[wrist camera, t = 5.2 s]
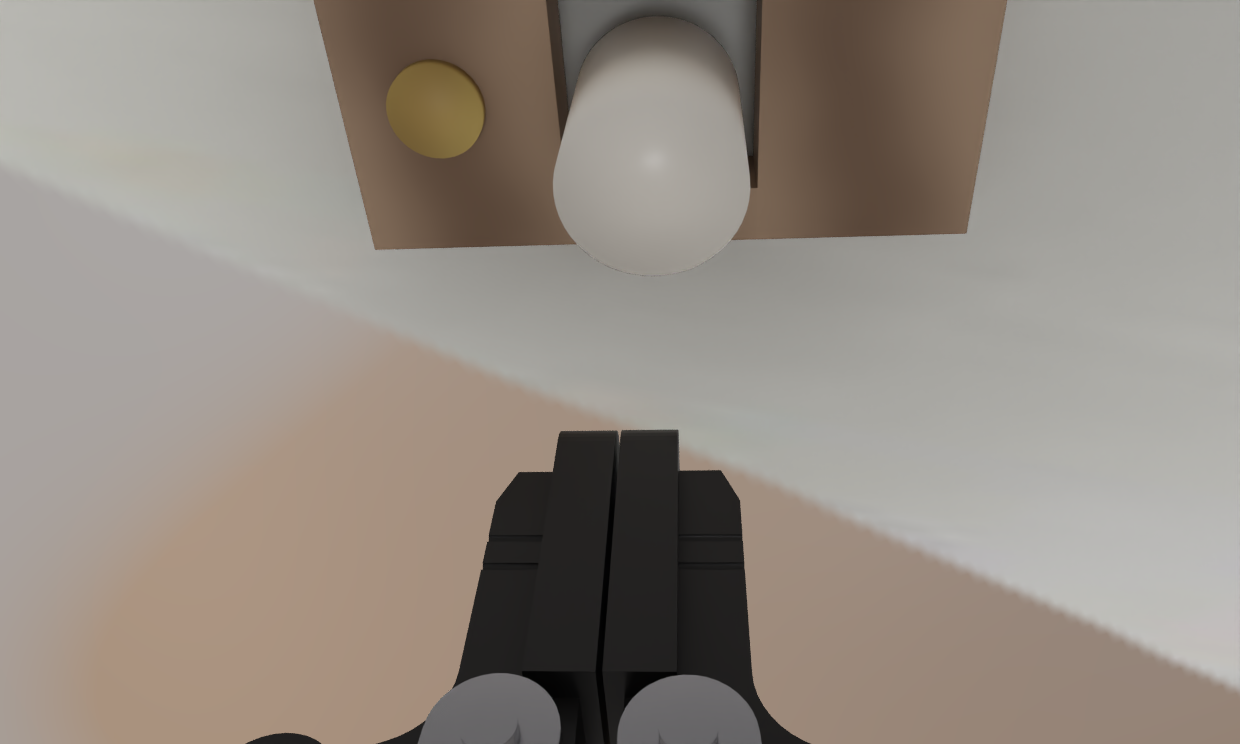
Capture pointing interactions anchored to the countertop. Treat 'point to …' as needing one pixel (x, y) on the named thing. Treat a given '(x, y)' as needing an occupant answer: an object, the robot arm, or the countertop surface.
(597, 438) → the robot arm
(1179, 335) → the countertop surface
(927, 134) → the board
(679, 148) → the button
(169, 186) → the countertop surface
